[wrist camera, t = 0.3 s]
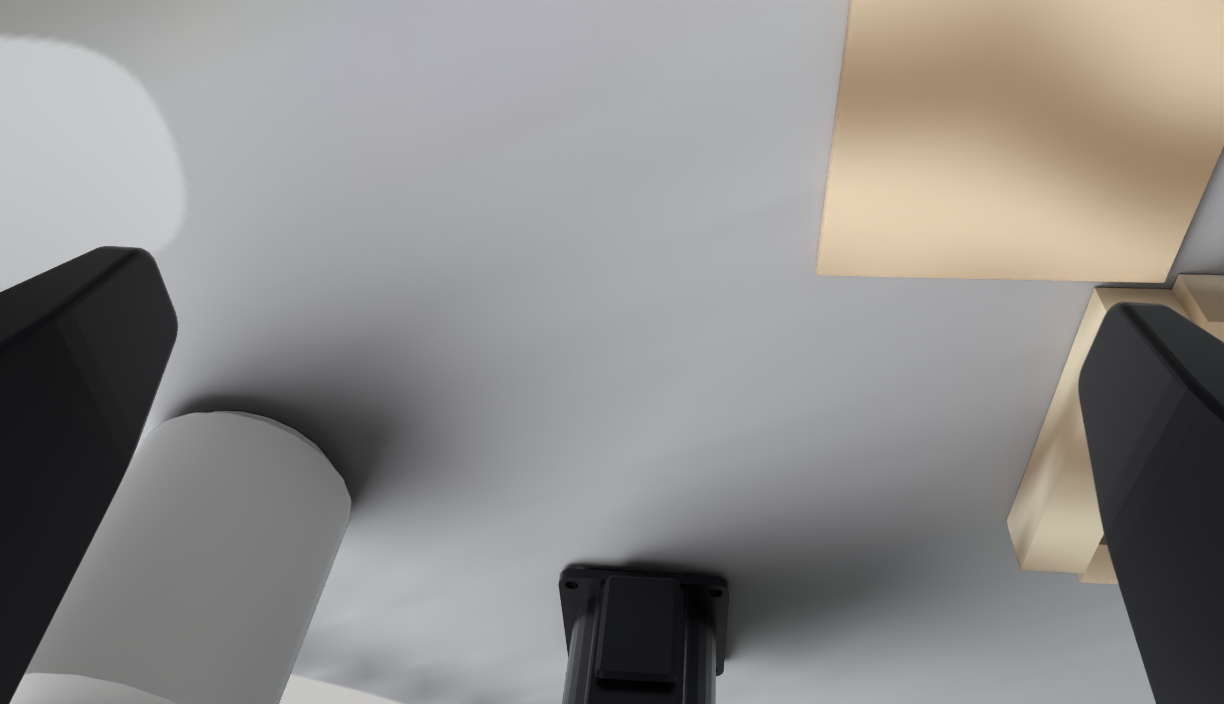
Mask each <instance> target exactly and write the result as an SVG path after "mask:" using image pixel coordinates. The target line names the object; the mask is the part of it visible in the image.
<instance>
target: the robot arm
mask: <svg viewBox="0 0 1224 704" xmlns="http://www.w3.org/2000/svg"><path fill="white" fill-rule="evenodd" d="M177 331H178V322H177V316H176V312H175V310H174V307H173V305H172V302H171V299H170V297H169V294H168V292H167V289H166V287H165V284H164V282H163V279H162V276H161V274H160V271H159V269H158V266H157V264H156V261H155V259H154V258H153V256H152V255H151V254H150V253H149V252H148V251H146V250H144V249H142V248H134V247H117V246H104V247H99V248H96V249H94V250H92V251H90V252H88V253H86V254H83V255H81V256H79V257H77V258H74V259H72V260H70V261H68V262H66V263H63V264H61V265H59V266H57V267H55V268H52V269H50V270H48V271H46V272H44V273H42V274H39V275H37V276H35V277H33V278H31V279H28V280H26V281H24V282H22V283H20V284H17V285H15V286H13V287H11V288H9V289H6V290H4V291H2V292H0V704H10V702H11V700H12V698H13V696H14V694H15V692H16V690H17V688H18V686H19V684H20V682H21V680H22V678H23V676H24V674H25V672H26V670H27V668H28V666H29V664H30V662H31V660H32V658H33V656H34V654H35V652H36V650H37V648H38V646H39V644H40V643H41V641H42V639H43V637H44V635H45V633H46V631H47V629H48V627H49V625H50V623H51V621H52V619H53V617H54V615H55V613H56V611H57V609H58V607H59V605H60V603H61V601H62V599H63V597H64V595H65V593H66V591H67V589H68V587H69V585H70V583H71V581H72V579H73V577H74V575H75V573H76V571H77V569H78V567H79V565H80V563H81V561H82V559H83V557H84V555H85V553H86V551H87V549H88V547H89V546H90V544H91V542H92V540H93V538H94V536H95V534H96V532H97V530H98V528H99V526H100V524H101V522H102V520H103V518H104V516H105V514H106V512H107V510H108V508H109V506H110V504H111V502H112V500H113V498H114V496H115V494H116V492H117V490H118V488H119V486H120V484H121V482H122V480H123V477H124V475H125V473H126V471H127V469H128V467H129V464H130V462H131V459H132V457H133V454H134V452H135V450H136V447H137V445H138V442H139V439H140V436H141V434H142V431H143V428H144V426H145V423H146V420H147V417H148V415H149V412H150V409H151V407H152V404H153V401H154V398H155V396H156V393H157V390H158V387H159V385H160V382H161V379H162V377H163V374H164V371H165V368H166V366H167V363H168V360H169V358H170V355H171V352H172V349H173V347H174V344H175V341H176V337H177ZM1078 395H1079V401H1080V407H1081V413H1082V418H1083V424H1084V429H1085V435H1086V441H1087V446H1088V452H1089V457H1090V463H1091V468H1092V474H1093V480H1094V485H1095V491H1096V496H1097V502H1098V508H1099V513H1100V518H1101V522H1102V527H1103V532H1104V536H1105V540H1106V544H1107V547H1108V551H1109V554H1110V558H1111V561H1112V564H1113V568H1114V571H1115V574H1116V577H1117V580H1118V584H1119V587H1120V590H1121V593H1122V596H1123V600H1124V603H1125V606H1126V609H1127V612H1128V615H1129V619H1130V622H1131V625H1132V628H1133V631H1134V635H1135V638H1136V641H1137V644H1138V647H1139V651H1140V654H1141V657H1142V660H1143V663H1144V667H1145V670H1146V673H1147V676H1148V679H1149V682H1150V686H1151V689H1152V692H1153V695H1154V698H1155V702H1156V704H1224V342H1223V341H1221V340H1220V339H1218V338H1216V337H1215V336H1213V335H1212V334H1210V333H1209V332H1207V331H1206V330H1204V329H1203V328H1201V327H1199V326H1198V325H1196V324H1195V323H1193V322H1192V321H1190V320H1189V319H1187V318H1186V317H1184V316H1182V315H1181V314H1179V313H1178V312H1176V311H1175V310H1173V309H1172V308H1170V307H1168V306H1166V305H1164V304H1160V303H1144V302H1125V301H1122V302H1118V303H1116V304H1114V305H1112V306H1111V307H1110V308H1109V309H1108V311H1107V312H1106V314H1105V316H1104V318H1103V320H1102V322H1101V325H1100V327H1099V329H1098V331H1097V334H1096V336H1095V338H1094V340H1093V343H1092V345H1091V347H1090V349H1089V352H1088V354H1087V356H1086V358H1085V361H1084V363H1083V365H1082V368H1081V371H1080V375H1079V380H1078ZM559 590H560V598H561V606H562V613H563V621H564V628H565V636H566V644H567V651H568V665H567V672H566V679H565V686H564V693H563V701H562V704H715V699H716V676H719V675H721V674H722V673H723V671H724V658H725V644H726V630H727V617H728V603H729V582H728V581H727V580H726V579H724V578H722V577H717V576H700V575H681V574H662V573H644V572H625V571H606V570H587V569H566V570H563V571H562V572H561V574H560V580H559Z"/></svg>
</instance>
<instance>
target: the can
mask: <svg viewBox="0 0 1224 704" xmlns="http://www.w3.org/2000/svg"><path fill="white" fill-rule="evenodd" d="M351 501H352V500H351V498H350V495H349V493H348V490H347V487H346V485H345V482H344V480H343V478H342V477H341V475H340V474H339V473H338V472H337V471H336V470H335V468H334V467H333V466H332V464H331V462H330V460H329V459H328V458H327V457H326V456H325V455H324V453H323V452H322V451H321V450H320V449H319V447H318V446H317V445H316V444H315V443H313V442H312V441H310V440H309V439H308V438H306V437H305V436H303V435H302V434H301V433H299V432H298V431H297V430H295V429H293V428H291V427H289V426H287V425H284V424H282V423H280V422H278V421H275V420H273V419H271V418H268V417H264V416H260V415H256V414H251V413H247V412H243V411H214V412H211V413H191V414H187V415H183V416H179V417H176V418H172V419H168V420H166V421H164V422H163V423H162V424H161V425H159V426H158V427H157V428H155V429H154V430H153V431H151V432H150V433H149V434H148V435H147V437H146V438H145V440H144V441H143V443H142V444H141V446H140V447H139V449H138V450H137V452H136V453H135V455H134V457H133V458H132V460H131V462H130V464H129V467H128V469H127V471H126V473H125V475H124V477H123V480H122V482H121V484H120V486H119V488H118V490H117V492H116V494H115V496H114V498H113V500H112V502H111V504H110V506H109V508H108V510H107V512H106V514H105V516H104V518H103V520H102V522H101V524H100V526H99V528H98V530H97V532H96V534H95V536H94V538H93V540H92V542H91V544H90V546H89V547H88V549H87V551H86V553H85V555H84V557H83V559H82V561H81V563H80V565H79V567H78V569H77V571H76V573H75V575H74V577H73V579H72V581H71V583H70V585H69V587H68V589H67V591H66V593H65V595H64V597H63V599H62V601H61V603H60V605H59V607H58V609H57V611H56V613H55V615H54V617H53V619H52V621H51V623H50V625H49V627H48V629H47V631H46V633H45V635H44V637H43V639H42V641H41V643H40V644H39V646H38V648H37V650H36V652H35V654H34V656H33V658H32V660H31V662H30V664H29V666H28V668H27V670H26V672H25V674H24V676H23V678H22V680H21V682H20V684H19V686H18V688H17V690H16V692H15V694H14V696H13V698H12V700H11V702H10V704H279V703H280V700H281V697H282V695H283V692H284V690H285V687H286V684H287V682H288V679H289V677H290V674H291V671H292V669H293V666H294V664H295V661H296V658H297V656H298V653H299V651H300V648H301V645H302V643H303V640H304V638H305V635H306V632H307V630H308V627H309V625H310V622H311V619H312V617H313V614H314V612H315V609H316V606H317V604H318V601H319V599H320V596H321V594H322V591H323V588H324V586H325V583H326V581H327V578H328V575H329V573H330V570H331V568H332V565H333V562H334V560H335V557H336V555H337V552H338V549H339V547H340V544H341V542H342V539H343V536H344V534H345V531H346V529H347V526H348V523H349V521H350V512H351Z"/></svg>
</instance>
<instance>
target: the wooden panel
mask: <svg viewBox="0 0 1224 704" xmlns="http://www.w3.org/2000/svg"><path fill="white" fill-rule="evenodd" d="M1223 147H1224V0H850V4H849V12H848V20H847V28H846V35H845V43H844V51H843V59H842V67H841V74H840V82H839V90H838V98H837V106H836V114H835V121H834V129H833V137H832V145H831V153H830V161H829V168H828V176H827V184H826V192H825V200H824V207H823V215H822V223H821V231H820V239H819V247H818V254H817V262H816V271H817V275H830V276H875V277H921V278H966V279H1011V280H1057V281H1102V282H1148V283H1164V282H1165V280H1166V277H1167V275H1168V273H1169V271H1170V268H1171V266H1172V264H1173V261H1174V259H1175V257H1176V255H1177V252H1178V250H1179V248H1180V245H1181V243H1182V241H1183V238H1184V236H1185V234H1186V232H1187V229H1188V227H1189V225H1190V222H1191V220H1192V218H1193V216H1194V213H1195V211H1196V209H1197V206H1198V204H1199V202H1200V200H1201V197H1202V195H1203V193H1204V190H1205V188H1206V186H1207V183H1208V181H1209V179H1210V177H1211V174H1212V172H1213V170H1214V167H1215V165H1216V163H1217V161H1218V158H1219V156H1220V154H1221V151H1222V149H1223Z"/></svg>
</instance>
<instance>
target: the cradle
mask: <svg viewBox="0 0 1224 704" xmlns="http://www.w3.org/2000/svg"><path fill="white" fill-rule="evenodd" d="M1122 301H1125V302H1144V303H1160V304H1164V305H1166V306H1168V307H1170V308H1172V309H1173V310H1175V311H1176V312H1178V313H1179V314H1181V315H1182V316H1184V317H1186V318H1187V319H1189V320H1190V321H1192V322H1193V323H1195V324H1196V325H1198V326H1199V327H1201V328H1203V329H1204V330H1206V331H1207V332H1209V333H1210V334H1212V335H1213V336H1215V337H1216V338H1218V339H1220V340H1221V341H1223V342H1224V275H1188V274H1178V277H1177V279H1176V281H1175V283H1174V286H1173V288H1172V289H1135V288H1094V290H1093V293H1092V295H1091V298H1090V301H1089V303H1088V306H1087V309H1086V311H1085V314H1084V317H1083V319H1082V322H1081V325H1080V327H1079V330H1078V332H1077V335H1076V338H1075V340H1074V343H1073V346H1072V348H1071V351H1070V354H1069V356H1068V359H1067V362H1066V364H1065V367H1064V370H1063V372H1062V375H1061V378H1060V380H1059V383H1058V386H1057V388H1056V391H1055V394H1054V396H1053V399H1052V402H1051V404H1050V407H1049V410H1048V412H1047V415H1046V418H1045V420H1044V423H1043V426H1042V428H1041V431H1040V434H1039V436H1038V439H1037V441H1036V444H1035V447H1034V449H1033V452H1032V455H1031V457H1030V460H1029V463H1028V465H1027V468H1026V471H1025V473H1024V476H1023V479H1022V481H1021V484H1020V487H1019V489H1018V492H1017V495H1016V497H1015V500H1014V503H1013V505H1012V508H1011V511H1010V513H1009V516H1008V519H1007V521H1006V522H1007V525H1008V529H1009V532H1010V536H1011V539H1012V543H1013V546H1014V549H1015V553H1016V556H1017V560H1018V563H1019V567H1020V570H1031V571H1050V572H1070V573H1077V575H1078V578H1079V581H1080V582H1082V583H1102V584H1118V580H1117V577H1116V574H1115V571H1114V568H1113V564H1112V561H1111V558H1110V554H1109V551H1108V547H1107V544H1106V540H1105V536H1104V532H1103V527H1102V522H1101V518H1100V513H1099V508H1098V502H1097V496H1096V491H1095V485H1094V480H1093V474H1092V468H1091V463H1090V457H1089V452H1088V446H1087V441H1086V435H1085V429H1084V424H1083V418H1082V413H1081V407H1080V401H1079V395H1078V380H1079V375H1080V371H1081V368H1082V365H1083V363H1084V361H1085V358H1086V356H1087V354H1088V352H1089V349H1090V347H1091V345H1092V343H1093V340H1094V338H1095V336H1096V334H1097V331H1098V329H1099V327H1100V325H1101V322H1102V320H1103V318H1104V316H1105V314H1106V312H1107V311H1108V309H1109V308H1110V307H1111V306H1112V305H1114V304H1116V303H1118V302H1122Z"/></svg>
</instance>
